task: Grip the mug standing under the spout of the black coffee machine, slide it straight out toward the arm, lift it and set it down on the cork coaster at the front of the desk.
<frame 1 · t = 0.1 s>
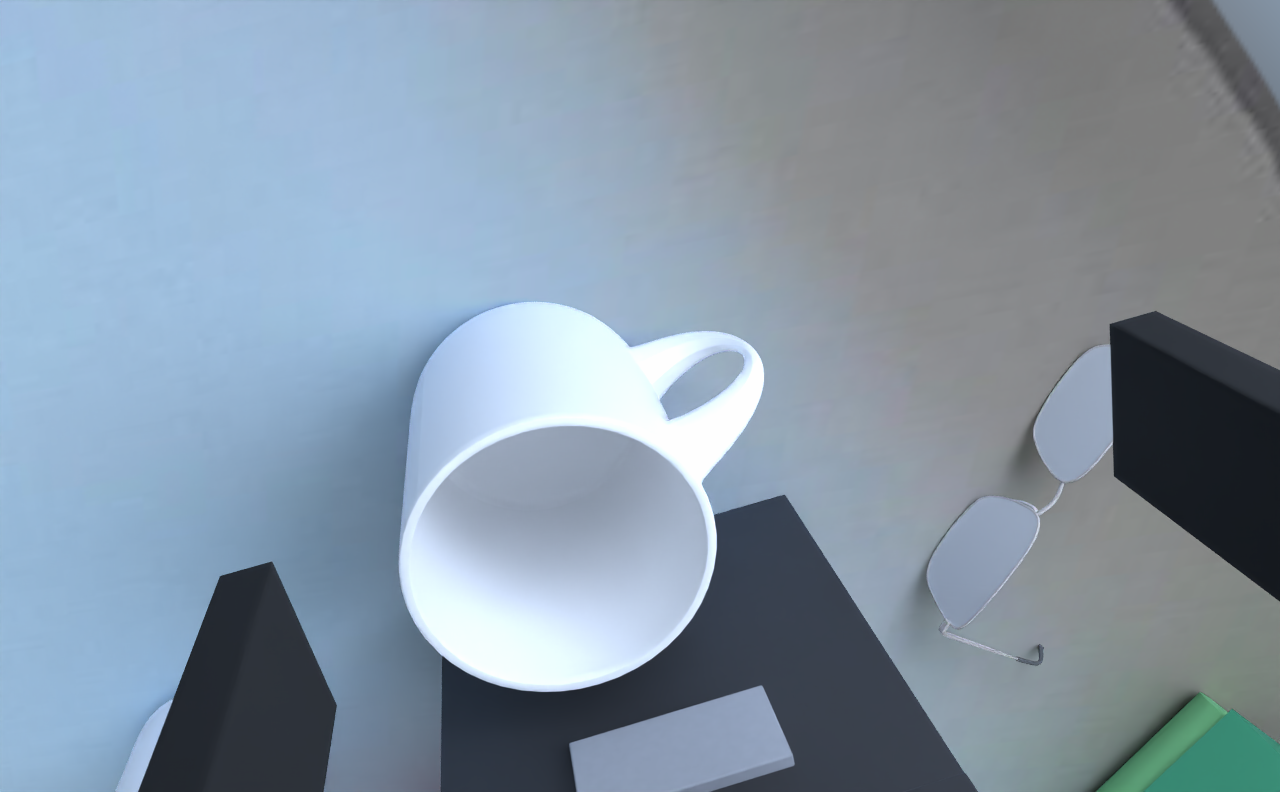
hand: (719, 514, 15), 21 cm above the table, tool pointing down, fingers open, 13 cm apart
can: (228, 741, 40), on the table
coffee maker: (629, 594, 41), on the table
mug: (571, 382, 37), on the table
eyeglasses: (1067, 494, 43), on the table
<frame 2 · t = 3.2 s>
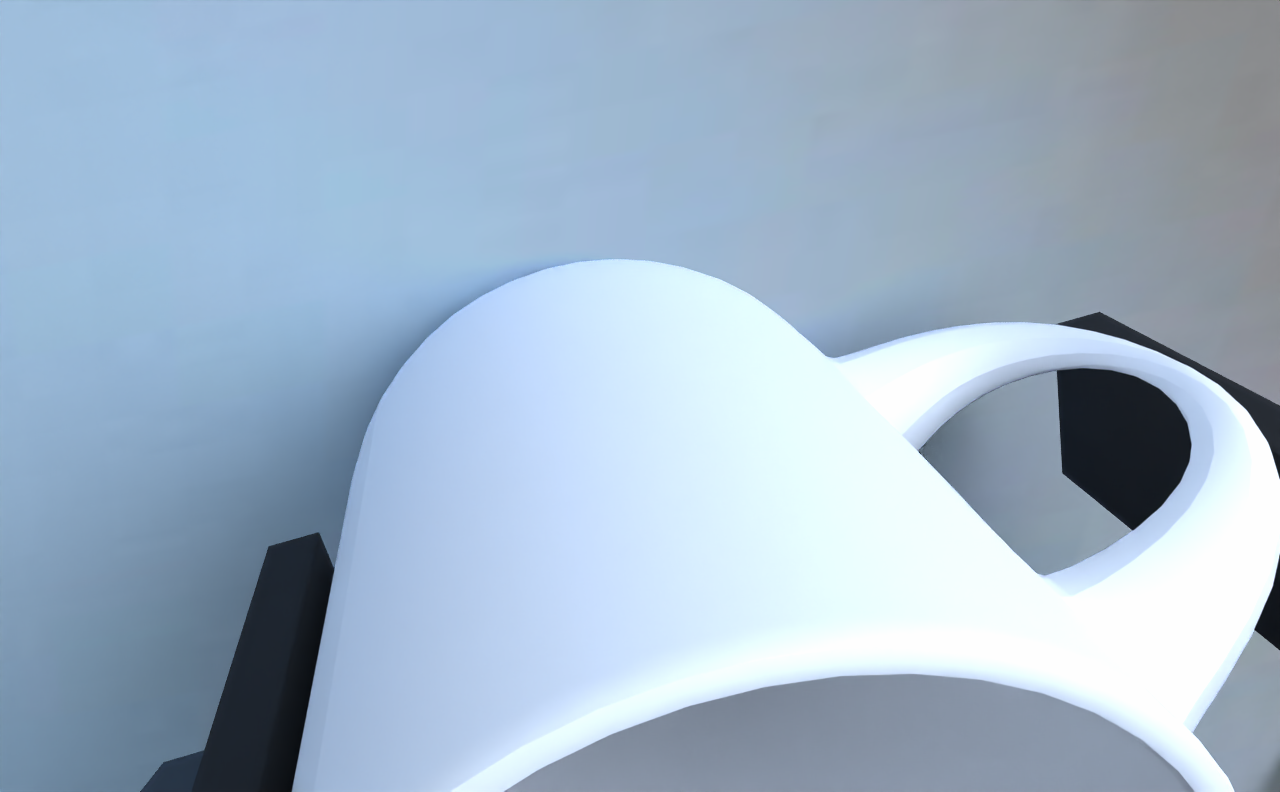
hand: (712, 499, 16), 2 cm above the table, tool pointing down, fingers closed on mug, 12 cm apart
mug: (686, 429, 18), on the table, touching gripper
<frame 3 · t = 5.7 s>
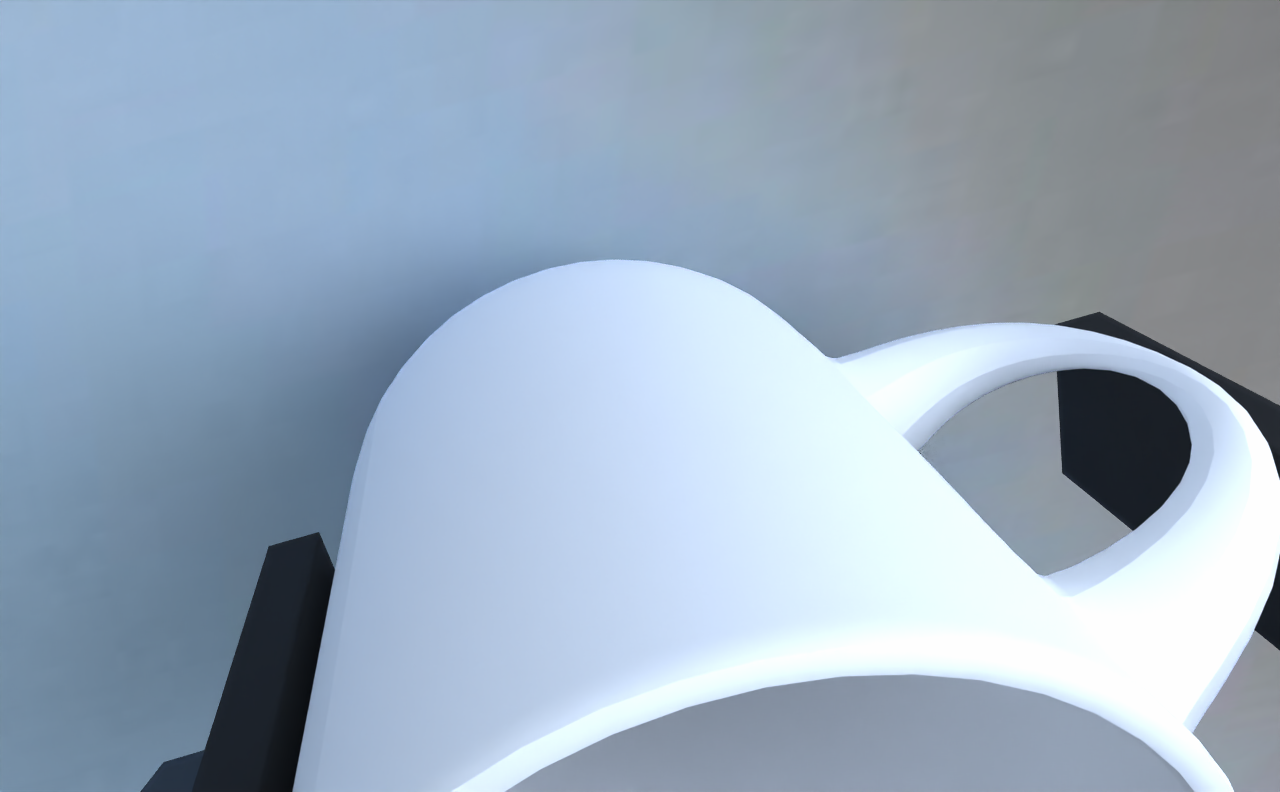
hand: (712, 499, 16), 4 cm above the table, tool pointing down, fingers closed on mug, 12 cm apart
mug: (686, 429, 18), point 2 cm above the table, touching gripper
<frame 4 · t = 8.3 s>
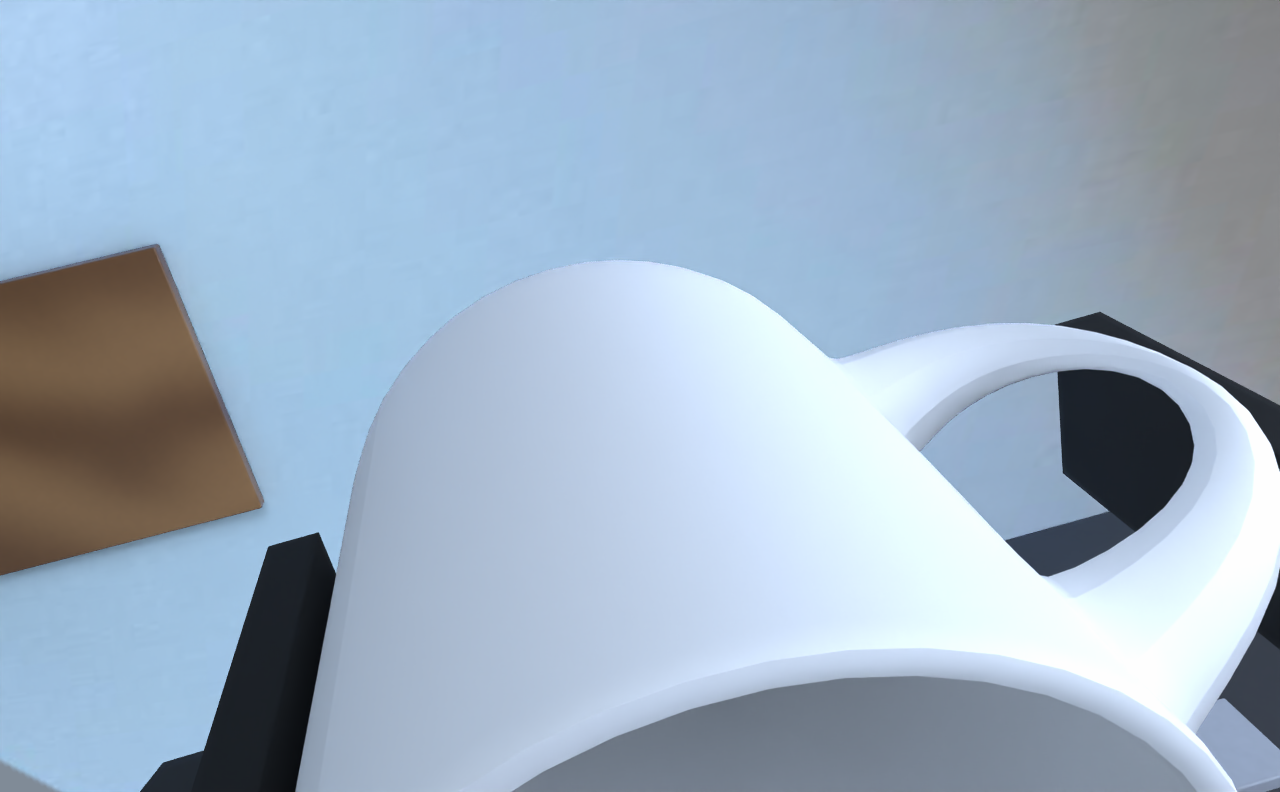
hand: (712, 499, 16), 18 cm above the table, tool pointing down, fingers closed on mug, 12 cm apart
coffee maker: (969, 603, 40), on the table
mug: (687, 429, 18), point 15 cm above the table, touching gripper
coaster: (71, 415, 31), on the table
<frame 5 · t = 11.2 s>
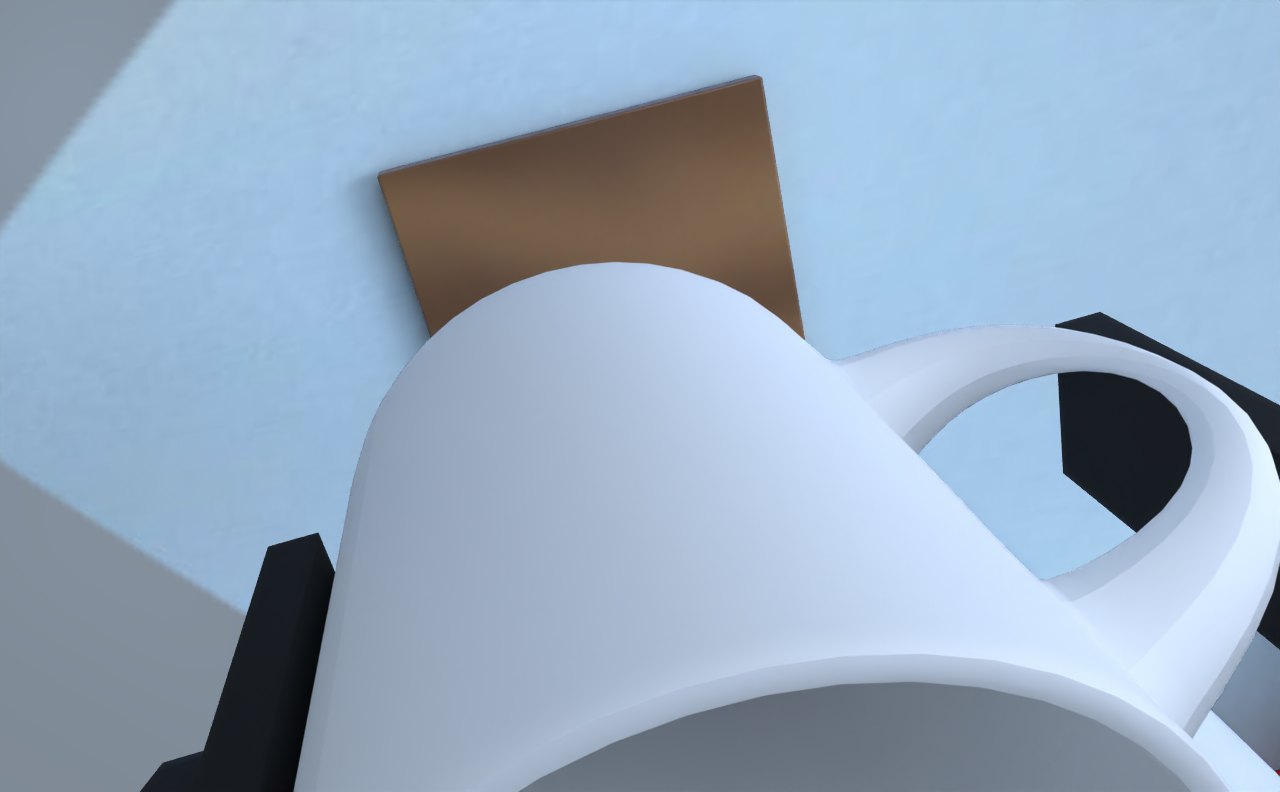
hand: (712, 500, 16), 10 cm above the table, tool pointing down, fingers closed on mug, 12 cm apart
can: (1070, 710, 33), on the table
mug: (686, 431, 18), point 8 cm above the table, touching gripper
coaster: (614, 302, 25), on the table
when the fingers open (3 cm above the table, at t = 13.6 s): mug stays where it is, resting on coaster.
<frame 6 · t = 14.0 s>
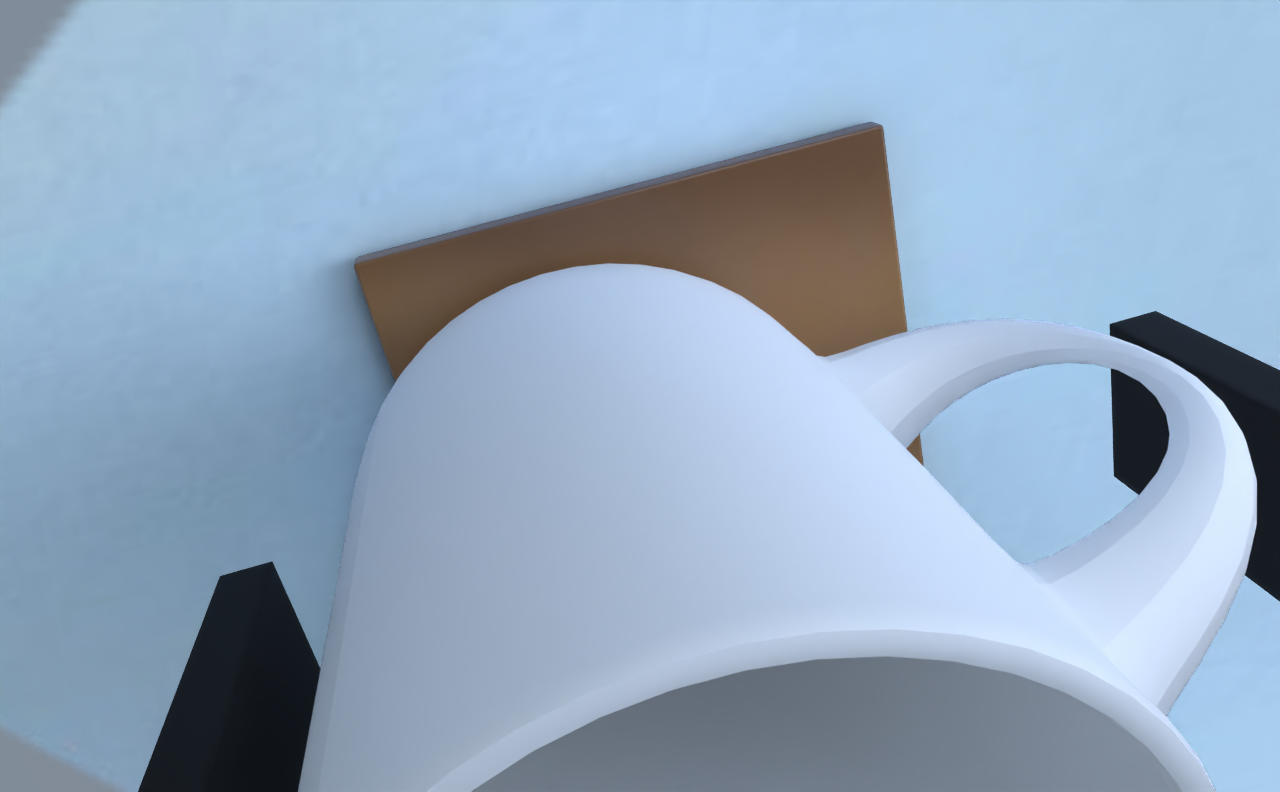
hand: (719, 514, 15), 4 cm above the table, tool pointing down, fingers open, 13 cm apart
mug: (682, 428, 18), resting on coaster
coaster: (673, 422, 19), on the table
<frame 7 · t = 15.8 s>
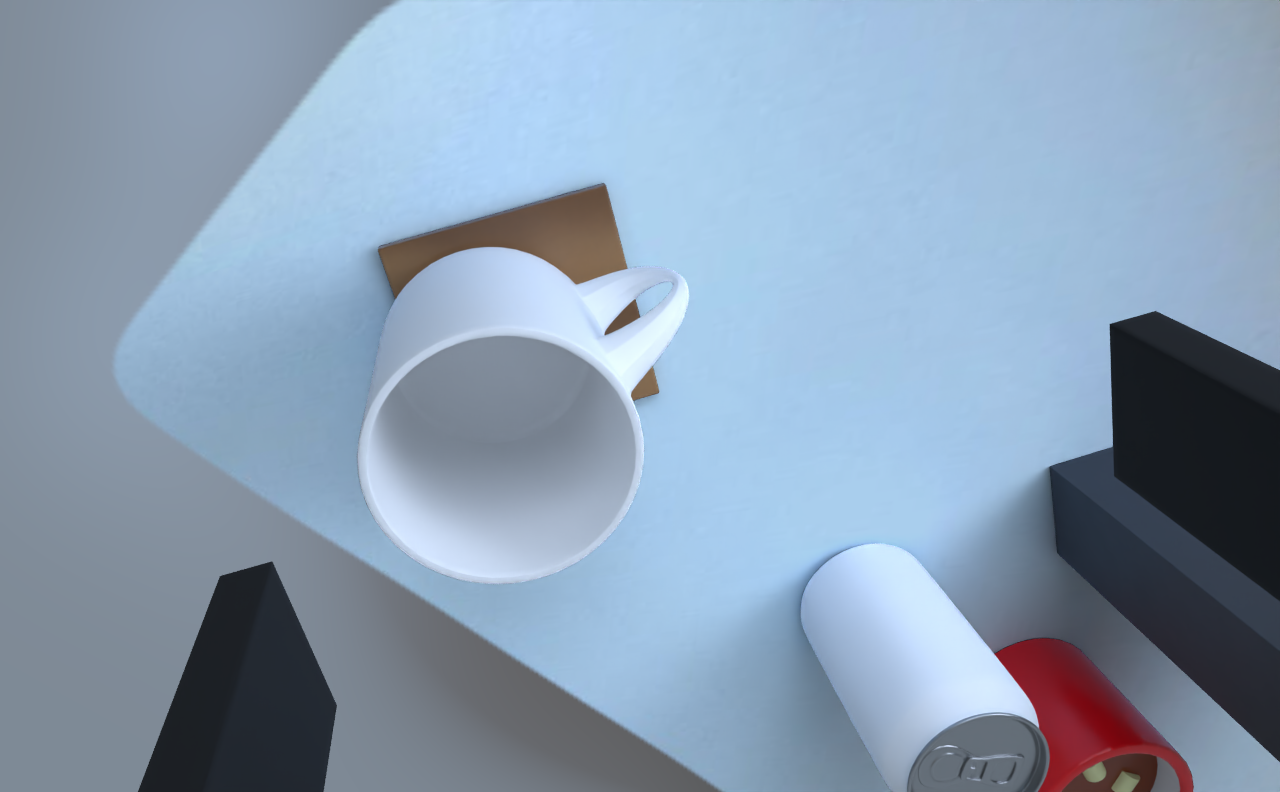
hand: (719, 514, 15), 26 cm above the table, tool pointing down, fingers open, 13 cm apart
can: (860, 595, 49), on the table
mug 2: (1050, 712, 54), on the table
coffee maker: (1187, 468, 49), on the table
mug: (527, 323, 40), resting on coaster
coaster: (525, 321, 41), on the table
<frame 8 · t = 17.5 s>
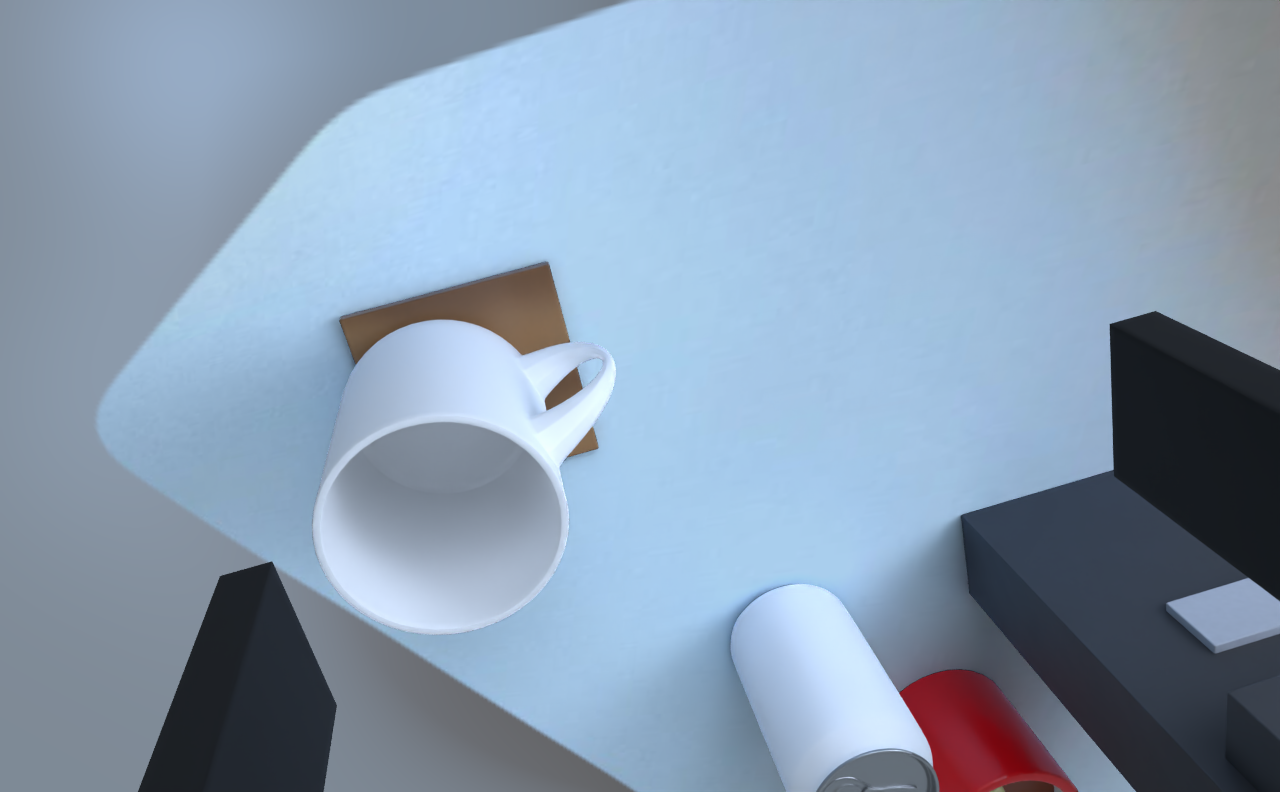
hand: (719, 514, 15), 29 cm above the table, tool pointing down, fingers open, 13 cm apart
can: (786, 629, 53), on the table
mug 2: (965, 736, 58), on the table
coffee maker: (1089, 517, 53), on the table
mug: (477, 385, 44), resting on coaster
coaster: (475, 383, 44), on the table
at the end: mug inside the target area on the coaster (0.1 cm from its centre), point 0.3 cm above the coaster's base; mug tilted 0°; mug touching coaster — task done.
